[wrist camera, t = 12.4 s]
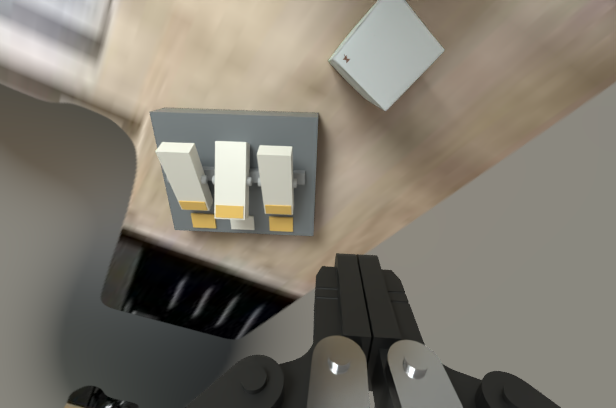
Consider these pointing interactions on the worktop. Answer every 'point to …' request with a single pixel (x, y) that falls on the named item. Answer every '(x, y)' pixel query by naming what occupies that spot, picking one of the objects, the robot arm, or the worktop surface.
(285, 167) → the rocker
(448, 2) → the worktop surface
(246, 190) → the rocker mid
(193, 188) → the rocker
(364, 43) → the supplement box
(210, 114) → the console
